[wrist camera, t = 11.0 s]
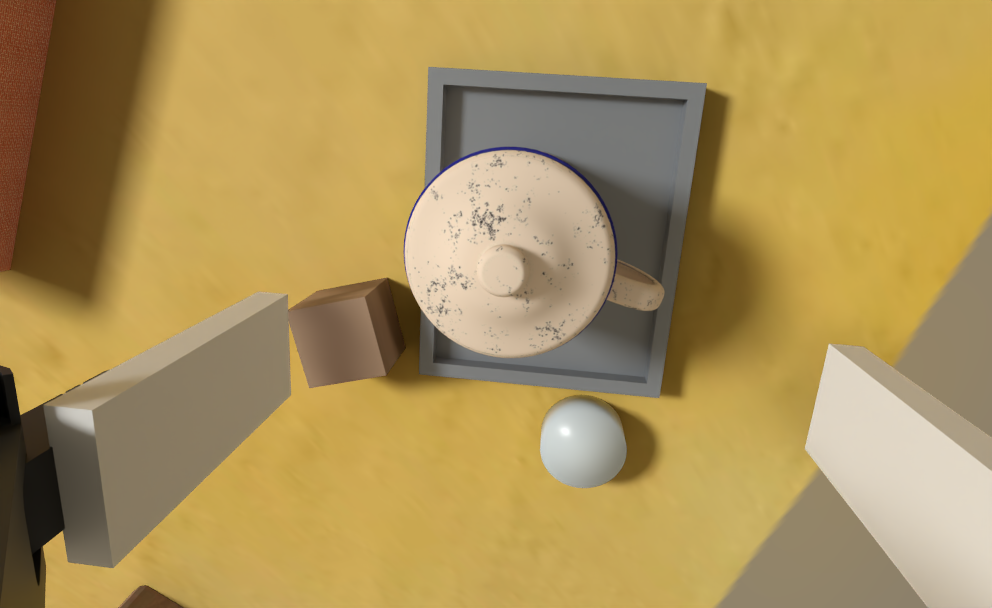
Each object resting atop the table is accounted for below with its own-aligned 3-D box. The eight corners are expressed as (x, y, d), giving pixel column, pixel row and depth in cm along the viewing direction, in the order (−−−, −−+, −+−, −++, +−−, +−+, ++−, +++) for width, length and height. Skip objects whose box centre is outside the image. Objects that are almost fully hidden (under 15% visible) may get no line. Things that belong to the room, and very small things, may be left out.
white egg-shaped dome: (627, 398, 37) (632, 415, 34) (617, 470, 38) (621, 492, 36) (545, 389, 37) (544, 406, 35) (538, 462, 39) (536, 482, 36)
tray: (699, 85, 32) (706, 83, 30) (655, 386, 36) (659, 397, 35) (434, 70, 33) (428, 67, 31) (424, 364, 37) (418, 374, 36)
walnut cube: (387, 277, 36) (364, 296, 32) (405, 347, 37) (386, 375, 33) (317, 290, 37) (285, 311, 32) (337, 359, 38) (309, 388, 34)
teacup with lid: (420, 274, 35) (355, 339, 24) (469, 119, 32) (423, 111, 21) (614, 345, 35) (641, 443, 24) (679, 196, 32) (743, 228, 21)
